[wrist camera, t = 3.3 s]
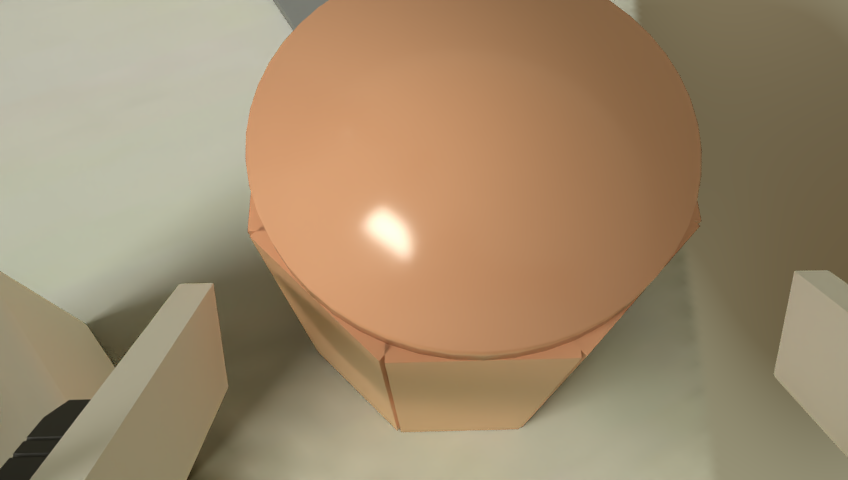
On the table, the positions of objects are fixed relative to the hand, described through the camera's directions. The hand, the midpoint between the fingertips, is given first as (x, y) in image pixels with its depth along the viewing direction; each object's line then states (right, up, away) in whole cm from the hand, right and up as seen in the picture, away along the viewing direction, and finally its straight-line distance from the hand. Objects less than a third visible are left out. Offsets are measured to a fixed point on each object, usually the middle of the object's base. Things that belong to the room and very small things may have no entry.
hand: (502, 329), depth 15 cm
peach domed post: (-1, 0, +10) cm, 10 cm away
